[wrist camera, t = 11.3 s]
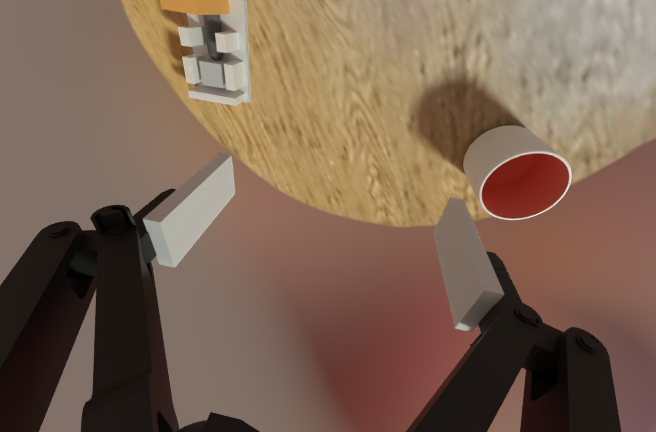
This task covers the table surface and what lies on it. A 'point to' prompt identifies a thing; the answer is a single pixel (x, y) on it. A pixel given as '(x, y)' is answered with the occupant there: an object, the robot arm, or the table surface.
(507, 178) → the cup
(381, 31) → the table surface
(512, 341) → the robot arm
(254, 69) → the table surface
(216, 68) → the orange block with rod
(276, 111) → the table surface
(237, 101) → the clip rail
